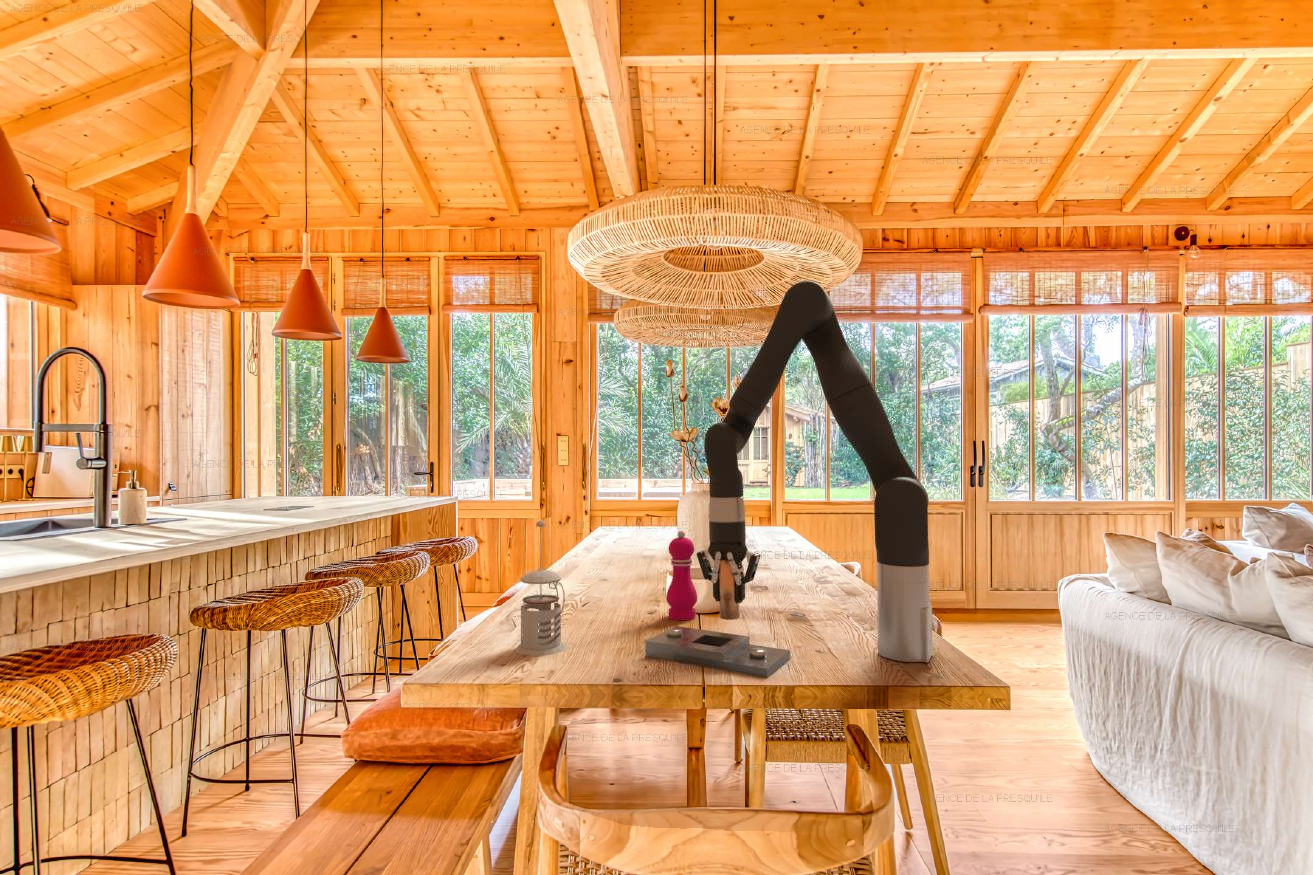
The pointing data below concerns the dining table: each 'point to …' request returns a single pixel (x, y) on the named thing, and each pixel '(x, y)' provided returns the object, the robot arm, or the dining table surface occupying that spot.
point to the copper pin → (727, 592)
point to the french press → (541, 614)
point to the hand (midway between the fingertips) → (729, 601)
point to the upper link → (694, 644)
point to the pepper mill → (681, 579)
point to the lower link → (743, 660)
